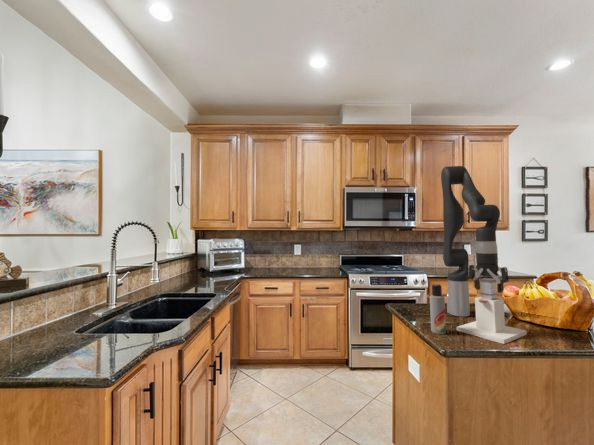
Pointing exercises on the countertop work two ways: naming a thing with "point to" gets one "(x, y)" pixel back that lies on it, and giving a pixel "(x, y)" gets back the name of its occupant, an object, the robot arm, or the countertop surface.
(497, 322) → the stand
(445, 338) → the countertop surface
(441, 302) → the lotion bottle
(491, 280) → the post
